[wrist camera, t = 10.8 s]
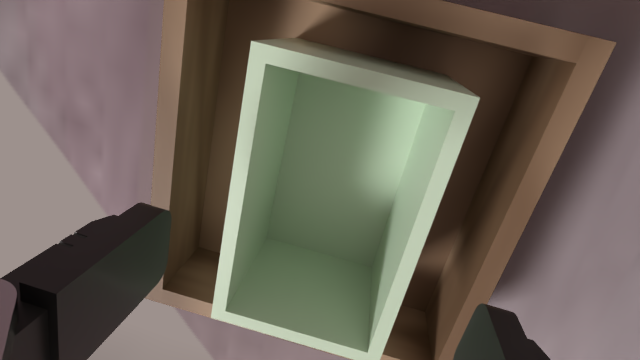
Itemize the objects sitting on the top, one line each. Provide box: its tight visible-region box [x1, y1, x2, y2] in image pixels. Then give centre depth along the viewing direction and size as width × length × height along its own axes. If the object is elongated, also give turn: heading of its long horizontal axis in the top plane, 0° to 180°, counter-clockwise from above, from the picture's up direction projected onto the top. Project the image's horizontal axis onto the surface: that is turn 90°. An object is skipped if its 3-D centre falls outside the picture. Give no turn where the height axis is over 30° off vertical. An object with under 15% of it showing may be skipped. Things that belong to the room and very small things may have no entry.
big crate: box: [145, 0, 617, 360], centre depth 17 cm, size 14×15×4 cm
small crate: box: [211, 38, 480, 360], centre depth 15 cm, size 6×10×6 cm, turn 167°
